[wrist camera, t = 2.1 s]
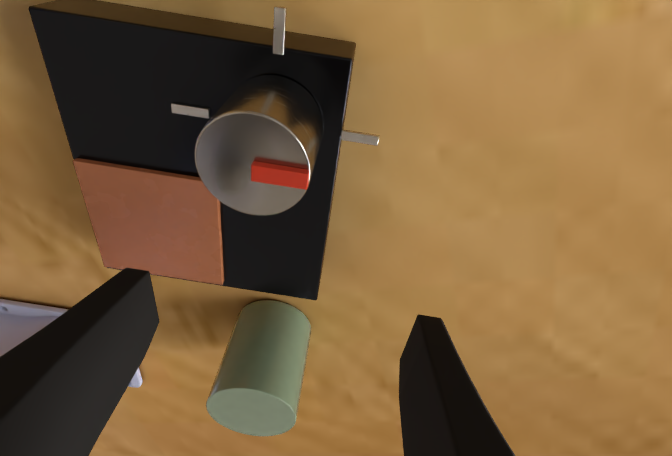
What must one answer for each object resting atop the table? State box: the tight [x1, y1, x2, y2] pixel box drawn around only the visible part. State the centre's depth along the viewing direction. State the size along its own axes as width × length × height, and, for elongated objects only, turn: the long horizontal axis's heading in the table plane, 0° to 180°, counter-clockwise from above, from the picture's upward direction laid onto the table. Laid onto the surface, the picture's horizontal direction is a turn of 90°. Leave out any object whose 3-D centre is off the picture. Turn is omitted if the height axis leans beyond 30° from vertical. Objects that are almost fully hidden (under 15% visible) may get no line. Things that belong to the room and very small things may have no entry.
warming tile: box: [73, 158, 224, 285], centre depth 18 cm, size 6×6×1 cm
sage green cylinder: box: [206, 300, 311, 436], centre depth 24 cm, size 5×5×6 cm
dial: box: [194, 75, 323, 216], centre depth 13 cm, size 4×4×4 cm
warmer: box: [29, 0, 379, 300], centre depth 18 cm, size 12×13×3 cm
